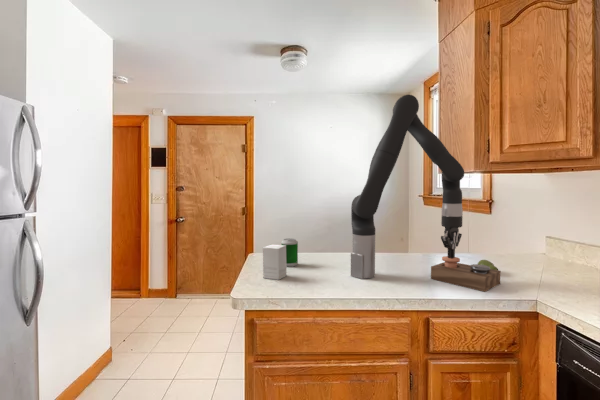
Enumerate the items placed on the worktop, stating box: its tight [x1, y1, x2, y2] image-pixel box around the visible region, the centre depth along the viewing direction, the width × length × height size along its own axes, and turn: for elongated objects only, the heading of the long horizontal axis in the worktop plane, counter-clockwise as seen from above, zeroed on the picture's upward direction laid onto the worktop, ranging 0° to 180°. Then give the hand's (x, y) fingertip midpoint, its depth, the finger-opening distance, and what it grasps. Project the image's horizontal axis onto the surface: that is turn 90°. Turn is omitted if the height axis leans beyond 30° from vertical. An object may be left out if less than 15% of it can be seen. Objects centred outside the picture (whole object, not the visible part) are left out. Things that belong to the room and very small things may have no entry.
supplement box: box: [262, 243, 288, 281], centre depth 132 cm, size 7×7×13 cm
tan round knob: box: [441, 255, 461, 268], centre depth 130 cm, size 6×6×6 cm
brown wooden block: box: [430, 261, 502, 293], centre depth 126 cm, size 14×20×5 cm
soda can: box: [280, 238, 299, 268], centre depth 151 cm, size 8×8×12 cm
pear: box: [477, 259, 499, 270], centre depth 137 cm, size 6×5×10 cm
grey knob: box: [469, 263, 490, 274], centre depth 121 cm, size 6×6×6 cm
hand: (451, 257), depth 129 cm, fingers closed
